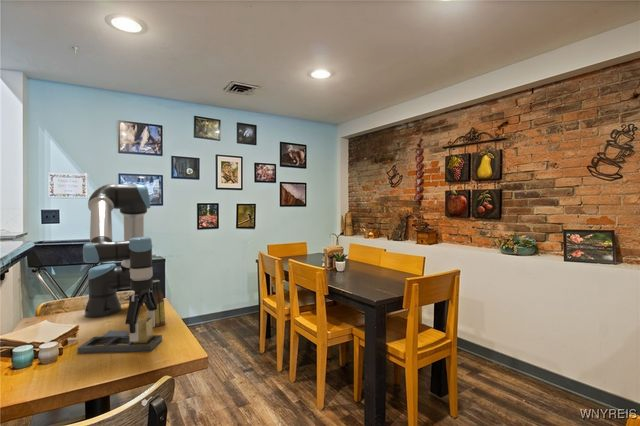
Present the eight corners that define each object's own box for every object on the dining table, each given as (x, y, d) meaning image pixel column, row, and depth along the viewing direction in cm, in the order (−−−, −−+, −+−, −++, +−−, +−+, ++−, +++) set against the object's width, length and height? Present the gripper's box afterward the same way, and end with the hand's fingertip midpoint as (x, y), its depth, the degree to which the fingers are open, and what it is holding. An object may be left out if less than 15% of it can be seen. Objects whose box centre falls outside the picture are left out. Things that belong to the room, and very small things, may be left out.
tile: (109, 332, 142) (109, 330, 142) (131, 331, 142) (131, 330, 142) (96, 341, 133) (96, 339, 133) (119, 340, 133) (119, 339, 133)
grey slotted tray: (94, 341, 132) (94, 336, 132) (162, 340, 134) (162, 335, 134) (77, 353, 122) (77, 348, 122) (150, 351, 124) (150, 346, 124)
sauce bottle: (162, 321, 155) (161, 278, 154) (167, 324, 150) (166, 280, 149) (147, 324, 150) (145, 280, 149) (151, 328, 146) (150, 283, 145)
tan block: (139, 343, 131) (139, 317, 130) (152, 343, 131) (152, 317, 131) (133, 349, 126) (132, 322, 125) (147, 348, 126) (146, 322, 126)
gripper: (146, 271, 140) (147, 321, 140) (112, 287, 115) (114, 348, 116) (165, 271, 140) (166, 321, 141) (135, 286, 115) (137, 347, 116)
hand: (142, 333), depth 128 cm, fingers open, 13 cm apart
